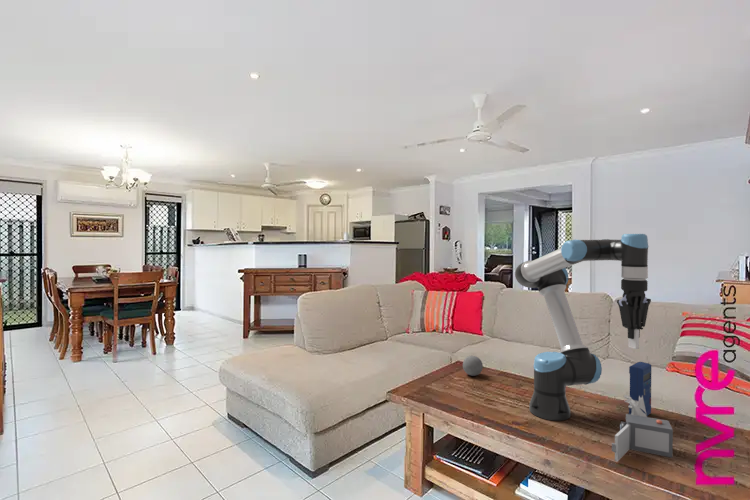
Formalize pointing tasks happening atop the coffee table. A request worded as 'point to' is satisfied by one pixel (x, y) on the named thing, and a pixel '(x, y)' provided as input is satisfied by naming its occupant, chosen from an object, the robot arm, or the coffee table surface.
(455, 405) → the coffee table surface
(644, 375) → the electronic device
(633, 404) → the figurine
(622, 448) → the door
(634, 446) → the camera body
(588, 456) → the coffee table surface
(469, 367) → the decorative ball
